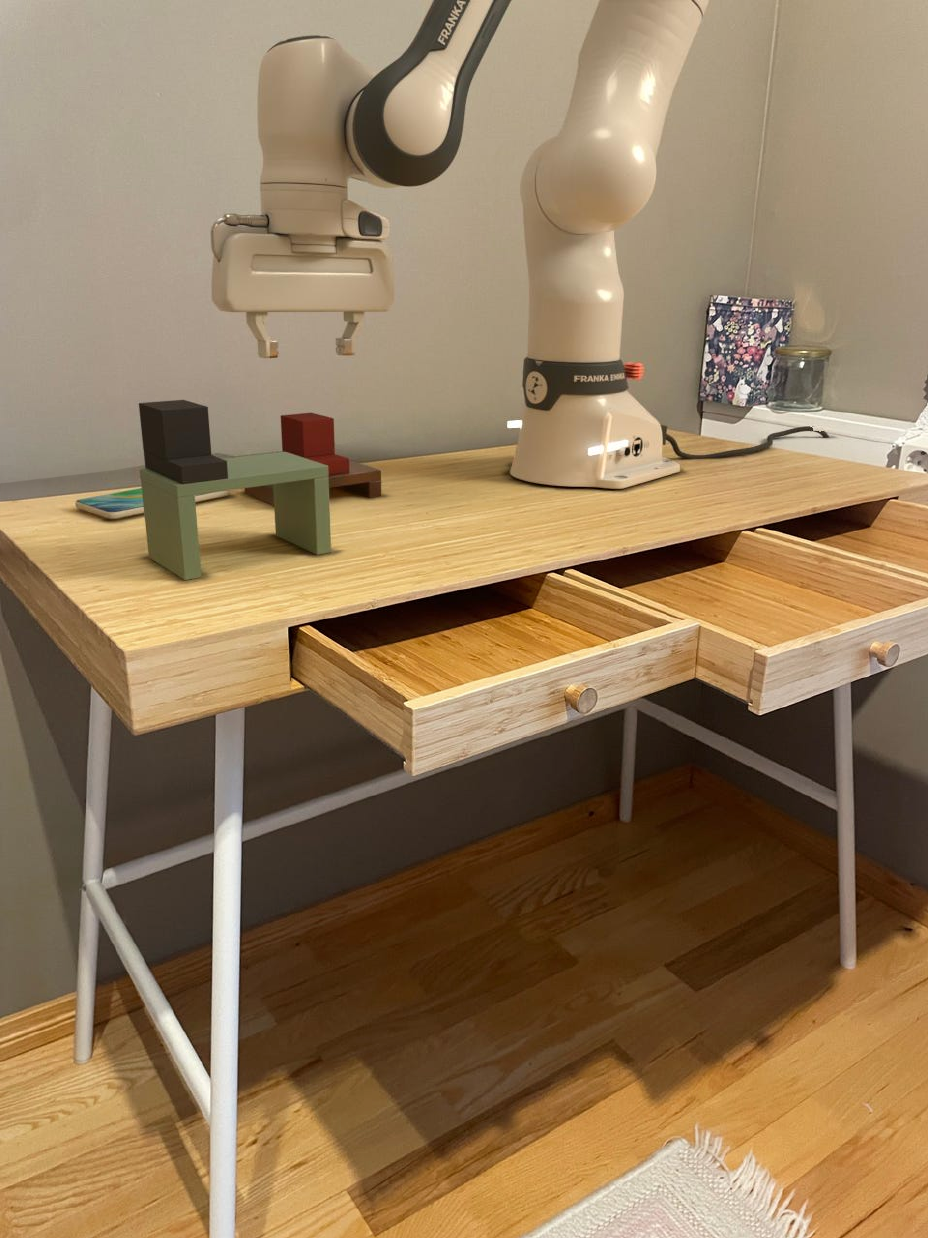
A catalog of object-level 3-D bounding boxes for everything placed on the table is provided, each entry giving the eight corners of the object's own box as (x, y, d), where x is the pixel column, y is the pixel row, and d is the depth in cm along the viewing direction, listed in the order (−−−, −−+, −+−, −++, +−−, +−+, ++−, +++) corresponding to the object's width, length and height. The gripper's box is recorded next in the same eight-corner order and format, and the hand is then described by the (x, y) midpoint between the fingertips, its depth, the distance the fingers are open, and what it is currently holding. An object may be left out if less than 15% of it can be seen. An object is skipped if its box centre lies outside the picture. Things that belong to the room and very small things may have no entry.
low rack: (335, 480, 117) (335, 455, 116) (381, 496, 109) (381, 469, 108) (244, 493, 110) (242, 466, 109) (286, 510, 102) (285, 482, 101)
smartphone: (231, 488, 108) (110, 513, 97) (232, 496, 108) (111, 521, 97) (192, 477, 112) (71, 500, 101) (192, 485, 112) (72, 508, 101)
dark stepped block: (189, 462, 86) (183, 399, 84) (228, 478, 80) (223, 411, 78) (144, 467, 83) (138, 402, 82) (182, 484, 78) (175, 415, 76)
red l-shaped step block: (313, 459, 113) (311, 412, 111) (349, 471, 107) (348, 421, 105) (282, 463, 110) (280, 415, 109) (318, 476, 105) (316, 424, 103)
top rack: (289, 533, 94) (285, 451, 91) (331, 552, 88) (328, 465, 85) (148, 557, 86) (139, 468, 83) (184, 580, 80) (176, 485, 77)
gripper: (223, 211, 91) (231, 362, 96) (402, 222, 103) (401, 356, 108) (196, 212, 96) (204, 356, 101) (370, 222, 108) (370, 351, 113)
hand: (308, 356), depth 104 cm, fingers open, 8 cm apart
